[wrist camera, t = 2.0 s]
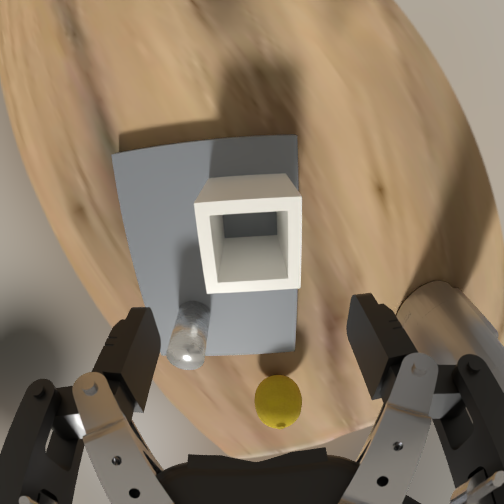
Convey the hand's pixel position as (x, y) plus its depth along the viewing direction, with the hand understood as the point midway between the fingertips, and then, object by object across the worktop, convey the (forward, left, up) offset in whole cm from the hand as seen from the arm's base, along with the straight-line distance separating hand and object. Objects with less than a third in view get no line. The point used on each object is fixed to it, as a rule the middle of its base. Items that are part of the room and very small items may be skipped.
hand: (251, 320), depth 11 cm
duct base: (+3, +5, -15) cm, 16 cm away
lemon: (-2, +22, -15) cm, 27 cm away
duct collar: (0, 0, -14) cm, 14 cm away
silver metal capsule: (+6, +10, -14) cm, 18 cm away
